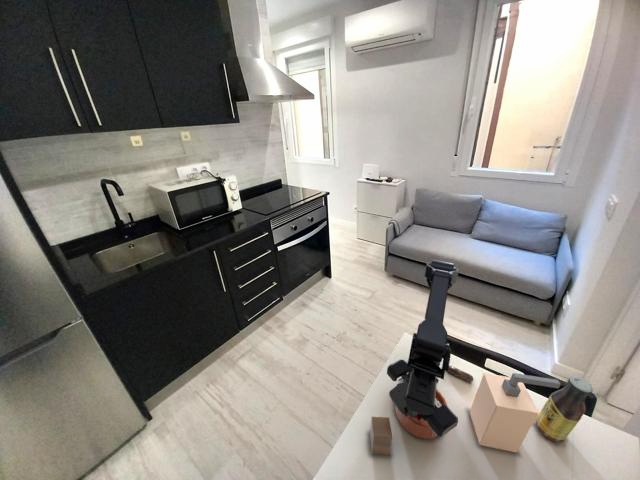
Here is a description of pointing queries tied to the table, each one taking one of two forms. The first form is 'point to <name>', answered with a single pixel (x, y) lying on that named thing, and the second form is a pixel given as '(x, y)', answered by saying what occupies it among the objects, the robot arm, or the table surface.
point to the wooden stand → (380, 435)
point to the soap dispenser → (505, 409)
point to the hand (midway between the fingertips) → (414, 413)
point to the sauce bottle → (564, 409)
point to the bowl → (419, 422)
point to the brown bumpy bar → (460, 374)
